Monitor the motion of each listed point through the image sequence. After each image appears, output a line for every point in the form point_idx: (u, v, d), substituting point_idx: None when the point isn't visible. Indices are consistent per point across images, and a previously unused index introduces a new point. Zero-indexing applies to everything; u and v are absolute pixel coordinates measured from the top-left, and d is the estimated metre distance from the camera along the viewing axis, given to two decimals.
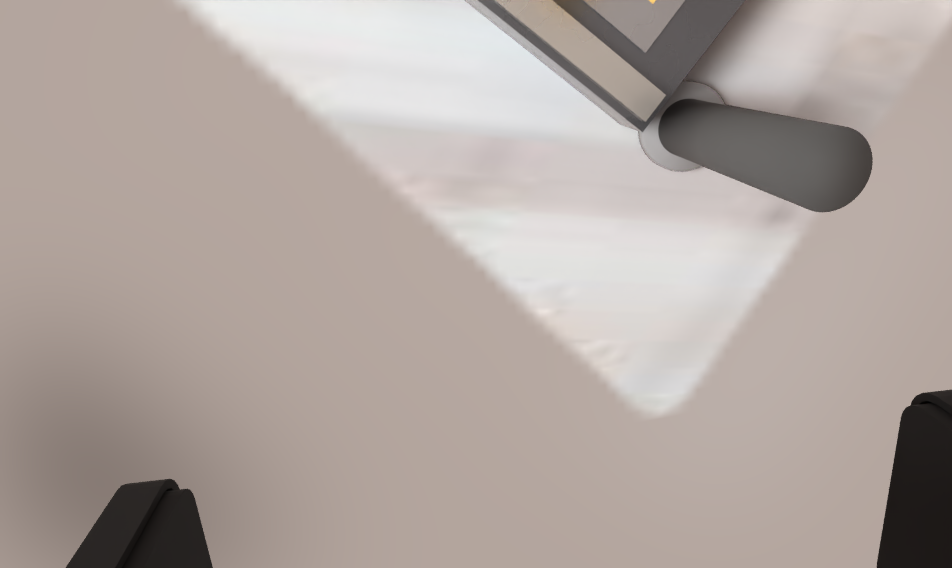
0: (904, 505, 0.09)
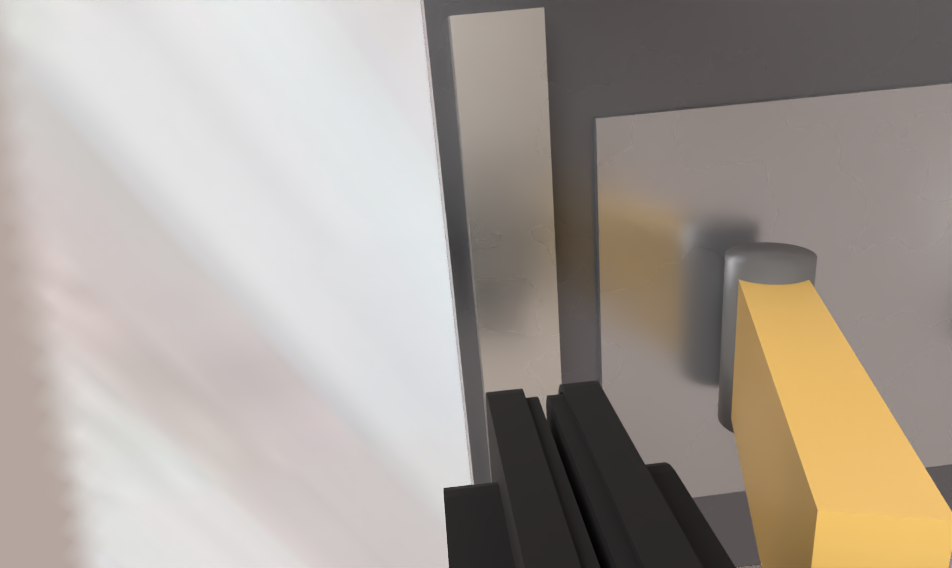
0: None
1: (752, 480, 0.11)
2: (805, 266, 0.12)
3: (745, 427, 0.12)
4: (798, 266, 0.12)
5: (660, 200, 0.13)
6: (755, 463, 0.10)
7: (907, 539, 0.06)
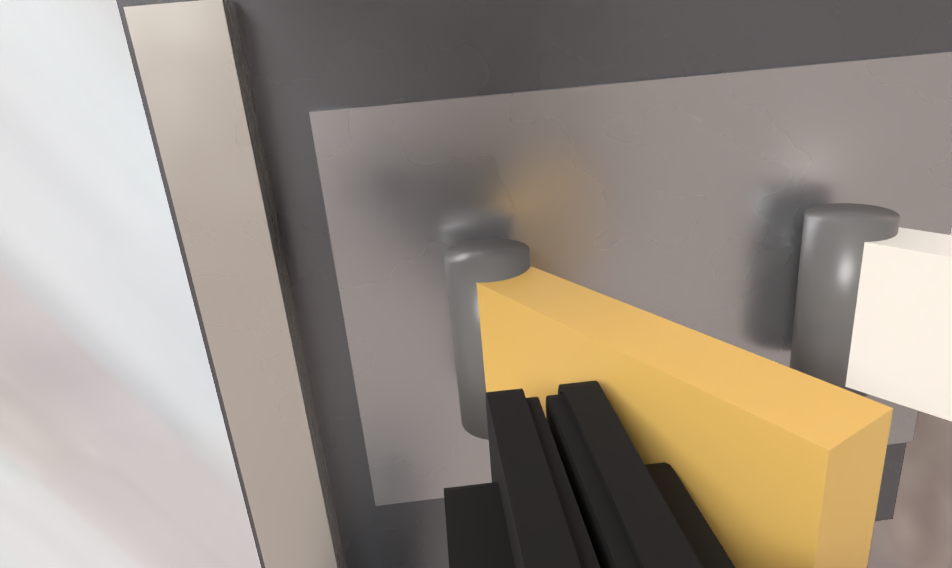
0: None
1: None
2: (527, 253, 0.12)
3: None
4: (523, 255, 0.12)
5: (388, 195, 0.13)
6: None
7: (870, 441, 0.07)
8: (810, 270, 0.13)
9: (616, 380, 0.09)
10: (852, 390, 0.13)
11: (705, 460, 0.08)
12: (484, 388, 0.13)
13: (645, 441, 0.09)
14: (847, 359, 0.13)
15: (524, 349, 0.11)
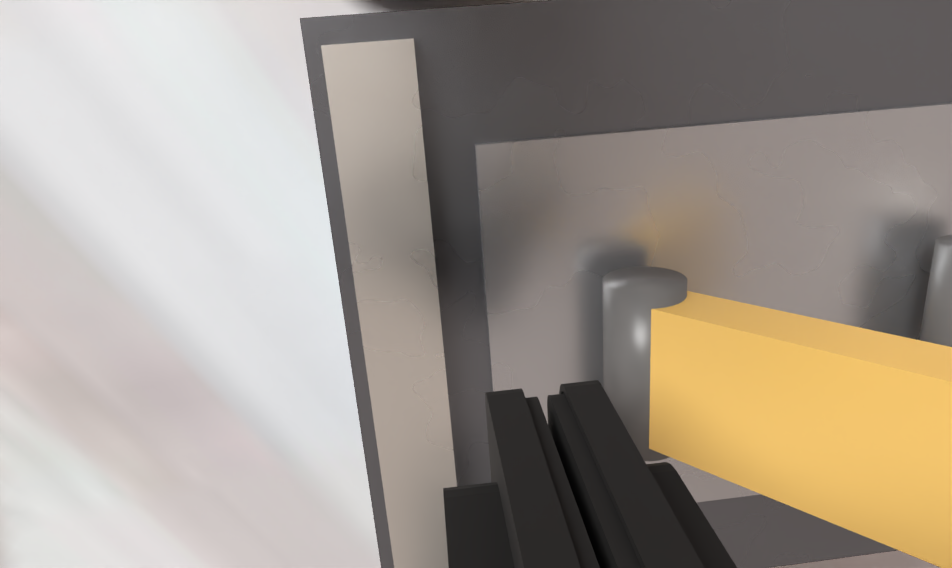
0: None
1: (797, 477, 0.11)
2: (685, 279, 0.13)
3: (739, 438, 0.12)
4: (685, 280, 0.13)
5: (543, 224, 0.14)
6: (810, 458, 0.11)
7: None
8: (944, 297, 0.14)
9: (854, 388, 0.10)
10: None
11: None
12: (648, 411, 0.13)
13: (887, 441, 0.10)
14: None
15: (717, 368, 0.12)
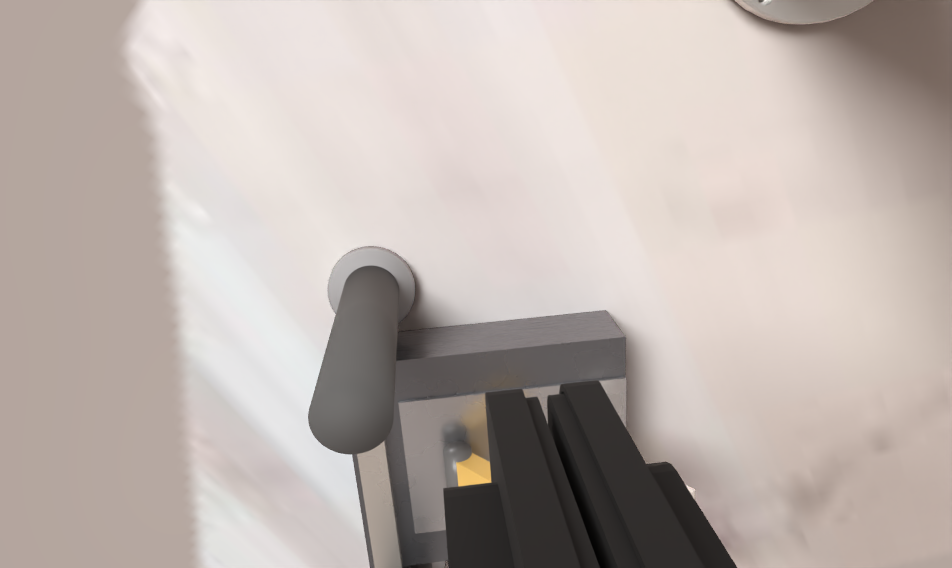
0: None
1: None
2: (470, 449, 0.37)
3: None
4: (470, 450, 0.37)
5: (423, 427, 0.38)
6: None
7: None
8: None
9: None
10: None
11: None
12: None
13: None
14: None
15: (474, 484, 0.36)
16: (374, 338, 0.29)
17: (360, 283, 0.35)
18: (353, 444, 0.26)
